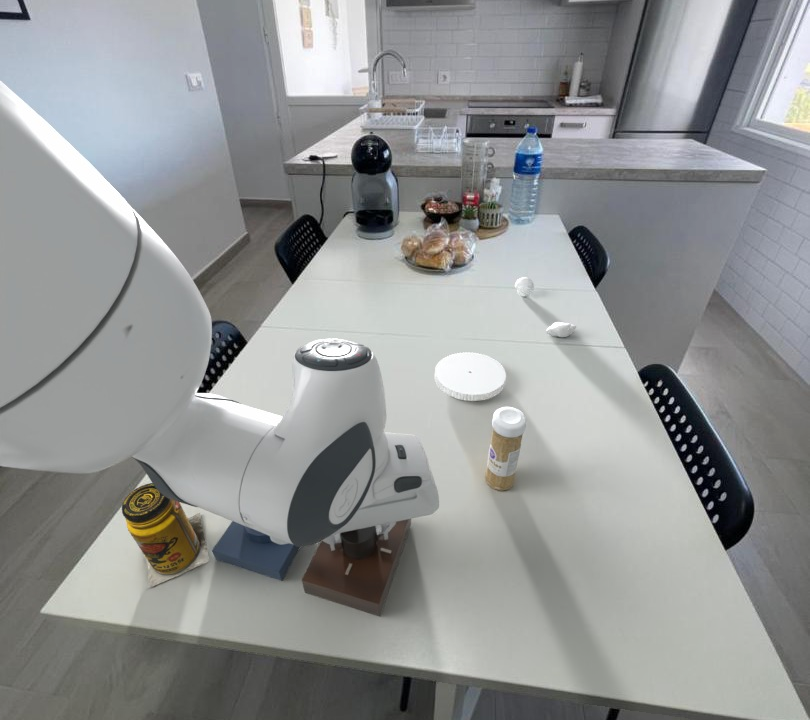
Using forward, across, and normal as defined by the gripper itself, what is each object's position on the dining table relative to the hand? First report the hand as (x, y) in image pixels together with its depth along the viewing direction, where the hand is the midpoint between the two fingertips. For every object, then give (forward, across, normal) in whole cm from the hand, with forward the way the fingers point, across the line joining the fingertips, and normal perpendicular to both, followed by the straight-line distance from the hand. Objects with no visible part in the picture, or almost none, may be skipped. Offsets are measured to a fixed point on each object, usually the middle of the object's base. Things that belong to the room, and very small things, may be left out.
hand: (359, 540), depth 57 cm
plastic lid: (+4, +26, +32) cm, 42 cm away
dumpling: (+4, +52, +44) cm, 68 cm away
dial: (+1, 0, 0) cm, 1 cm away
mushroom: (+4, +52, +64) cm, 83 cm away
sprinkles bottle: (+4, +23, +8) cm, 24 cm away
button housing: (+4, -12, +7) cm, 14 cm away
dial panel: (+4, 0, 0) cm, 4 cm away
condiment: (+4, -24, +7) cm, 26 cm away
